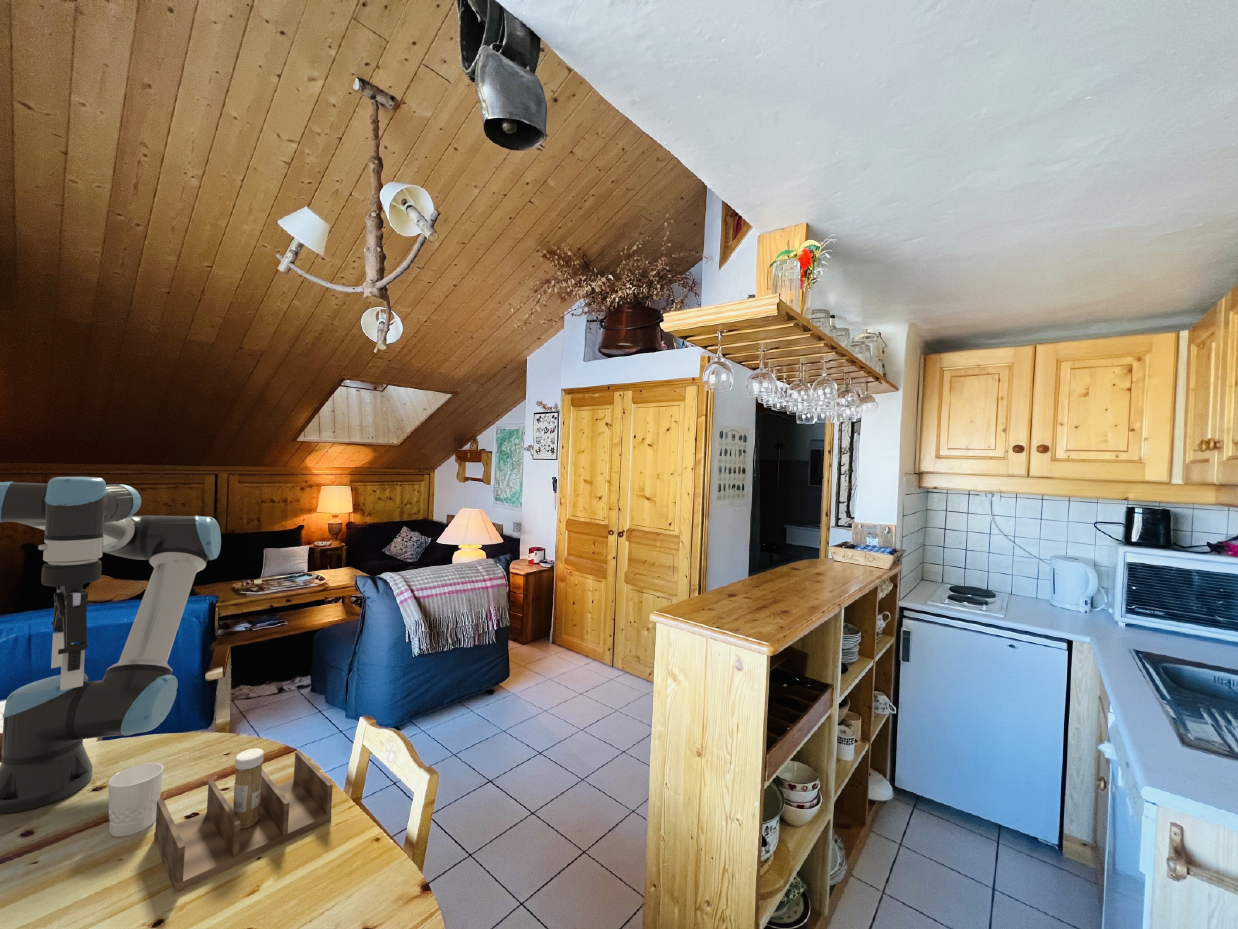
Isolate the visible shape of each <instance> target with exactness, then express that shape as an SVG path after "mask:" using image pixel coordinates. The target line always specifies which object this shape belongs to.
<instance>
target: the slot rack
mask: <svg viewBox="0 0 1238 929" xmlns="http://www.w3.org/2000/svg"><path fill="white" fill-rule="evenodd" d="M293 768H294V769H293V778H292V779H289V780H287V781H284V782H282V783H278V784H277V785H276V784H275V783H274V781H273V780H272V779H271V778H270V776H269V775H268V774H267V773H266V771H265V770H264V769H263V768H262V773H261V800H260V818H259V820H258V822H256V823H255V824H254V825H252V826H250V827H248V828H244V829H240V826H241V822H240V821H239V819H238V818H237V816H236V814H235V813H234V810H233V805H234V801H232V802H228V800H227V799H226V798H225V796H224V794H223V793H222V791H221V790H220V788H219V787H218V785H217V784H216V782H215V781H214V780H211V781H208V783H207V784H208V786H207V800H206V801H207V802H206V803H207V804H206V811H205V812H203V813H201V814H198V815H196V816H194V817H191V818H188V819H185V820H183V821H180V822H177V823H175V822H174V820H173V817H172V815H171V813H170V811H169V808H168V807H167V804H166V803H165V801H164V799H163V798H160V799H159V800H157V810H156V821H155V830H154V834H153V835H154V836H153V841H154V844H155V847H156V849H157V851H158V854H159V856H160V859H161V862H162V864H163V866H164V869H165V872H166V873H167V876H168V879H169V881H170V884H171V886H172V888H173V892H174V894H175V895H177V894H178V893H180V892H182V891H185V890H186V889H188V888H190V887H193V886H195V885H197V884H199V883H202V882H203V881H206V880H208V879H210V878H212V877H214V876H216V875H219V874H221V873H223V872H225V871H227V870H229V869H232V868H233V867H236V866H238V865H240V864H242V863H244V862H247V861H249V860H251V859H253V858H255V857H257V856H259V855H261V854H263V853H266V852H268V851H270V850H273V849H274V848H277V847H278V846H281V845H282V844H285V843H288V842H289V841H292V840H293V839H296V838H297V837H300V836H302V835H305V834H306V833H309V832H310V831H313V830H316V829H317V828H320V827H323V825H325V824H328V823H330V822H332V803H333V800H332V799H333V787H334V784H333V783H332V782H331V781H330V779H328V778H327V777H326V776H325V774H324V773H323V772H321V771H320V770H319V768H317V767H316V765H314V764H313V763H312V762H311V761H310V760H309V759H308V757H307V756H306V755H304V754H303V753H302V751H300V750H297V751H295V752H294V767H293Z"/></svg>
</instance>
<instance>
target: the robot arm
mask: <svg viewBox="0 0 1238 929" xmlns="http://www.w3.org/2000/svg"><path fill="white" fill-rule="evenodd" d="M141 505H142V497H141V495H140V494H139V492H138V490H137V489H136V488H133V487H132V486H130V485H127V484H119V483H109V484H106V481H105V479H103V478H102V477H95V476H57V477H52V478H50V479H49V481H48V482H46V483H43V482H42V483H41V482H40V483H39V482H14V481H4V482H2V481H0V523H4V522H7V523H8V522H9V523H13V522H14V523H19V524H22V525H27V526H29V527H32V528H37V529H40V530H43V531H44V533H43V534H44V535H43V539H44V541H43V542H44V544H40V545H38V546H37V547H38V548H37V549H38V550H40V551H43V555H42V556H43V557H42V560H43V561H44V562H45V563H44V564H42V566H41V567H42V568H41V578H40V579H41V581H40V582H41V584H42V585H43V586H47V587H56V592H54V594H53V602H54V604H53V606H54V609H53V617H52V621H51V625H52V631H53V633H52V646H51V647H52V648H51V659H50V660H51V662H50V664H51V666H50V669H55V668H60V674H59V675H54V676H49V677H47V678H43V679H40V680H36V681H32V682H30V683H28V684H26V685H23V686H20V687H19V688H17V689H15V690H14V691H12V692H11V693H9V695H8V696H7V697H6V699H5V704H4V709H3V714H2V718H3V724H2V743H1V758H0V759H1V761H0V814H13V813H14V814H15V813H20V812H26V811H30V810H33V809H37V808H42V807H44V806H47V805H50V804H52V803H56V802H58V801H61V800H62V799H65V798H68V797H69V796H71V795H73V794H75V793H76V792H78V791H80V790H81V789H83V788H84V787H85V786H86V785H88V783H90V781H92V778H93V764H92V762H91V759H90V757H89V754H88V753H87V750H86V748H85V746H84V740H87V739H89V740H90V739H97V738H106V737H116V736H117V737H118V736H125V737H126V736H131V735H134V734H140V733H147V732H149V731H152V730H155V729H156V728H157V727H158V726H160V724H161V723H162V722H164V720H165V719H166V718H167V716H168V714H169V713H170V711H171V709H172V707H173V705H174V703H175V700H176V698H177V689H178V686H179V683H178V679H177V677H176V676H175V675H172V673H173V668H171V667H170V665H169V664H168V661H169V657H170V655H171V651H172V648H173V645H174V641H175V640H176V635H177V632H178V630H179V627H180V624H181V620H182V617H183V615H184V612H185V608H186V605H187V603H188V599H189V596H190V593H191V590H192V586H193V584H194V581H195V578H196V575H197V573H199V572H200V571H203V570H204V569H205V568H206V566H207V563H208V561H212V560H217V558H218V556H220V552H221V546H222V536H221V535H222V533H221V528H220V525H219V523H218V521H217V520H216V519H215V518H214V517H211V516H200V515H194V516H191V515H189V516H187V515H186V516H185V515H135V514H136V513H137V512H138V511H139V510H140V507H141ZM104 553H106V554H110V555H113V556H117V557H122V558H126V559H131V560H139V561H140V560H144V561H147V560H148V563H149V564H150V565H151V567H153V570H152V573H151V575H150V578H149V580H148V581H149V582H148V583H147V587H146V589H145V591H144V593H143V594H144V595H143V596H142V600H141V602H140V605H139V607H138V609H137V613H136V615H135V618H134V621H133V623H132V626H131V629H130V631H129V633H128V636H127V639H126V641H125V644H124V647H123V650H122V652H121V654H120V658H119V660H118V662H117V663H114V664H113V665H111V666H109V667H108V668H107V669H106V671H105V673H104V676H103V678H102V680H101V679H100V680H93V681H88V680H89V676H88V675H87V674H86V673H85V655H86V649H87V648H88V647H89V644H88V626H87V624H88V623H87V611H88V606H87V603H88V602H87V601H88V600H89V592H88V591H87V592H86V589H84V588H83V586H84V585H85V584H91V583H95V582H97V581H99V580H100V579H101V578H102V564H103V562H102V560H100V558H102V557H103V556H104V555H103V554H104Z"/></svg>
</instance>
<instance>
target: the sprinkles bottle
mask: <svg viewBox="0 0 1238 929" xmlns="http://www.w3.org/2000/svg"><path fill="white" fill-rule="evenodd" d="M264 756H265V753H264V750H263V749H262V748H250V749H246V750H244V751H241V752H239V753H238V754H237V755H236V757H235V758H234V759H235V760H234V768H235V779H234V787H233V788H234V791H233V802H234V805H233V810H234V813H235V814H236V816H237V818H238V819H239V821H240V822H241V826H240V829H244V828H248V827H250V826H252V825H254V824H255V823H256V822H258V820H259V818H260V800H261V773H262V769H263V768H262V767H263V762H264Z"/></svg>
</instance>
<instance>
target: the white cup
mask: <svg viewBox="0 0 1238 929" xmlns="http://www.w3.org/2000/svg"><path fill="white" fill-rule="evenodd" d="M163 772H164V765H163V764H161V763H159V762H145V763H140V764H135V765H133V766H130V767H127V768H124V769H122V770H119V771H117V773H115V774H114V775H112V776H111V777H110V778H109V780H108V801H107V802H108V806H107V807H108V820H109V834H110V835H111V836H112V837H127V836H128V837H129V836H131V835H135V834H137V833H140V832H142V831H145V830H146V829H148V828H149V827H151V826H152V825H153V824H154V823H156V810H157V800H159V799H161V792H162V783H163V776H164V773H163Z"/></svg>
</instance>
